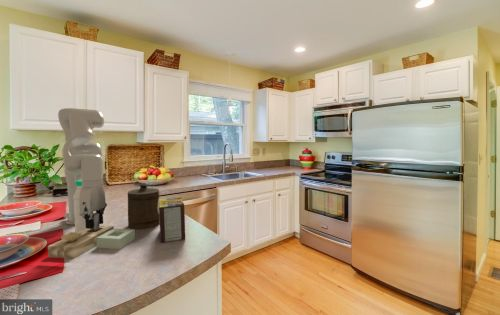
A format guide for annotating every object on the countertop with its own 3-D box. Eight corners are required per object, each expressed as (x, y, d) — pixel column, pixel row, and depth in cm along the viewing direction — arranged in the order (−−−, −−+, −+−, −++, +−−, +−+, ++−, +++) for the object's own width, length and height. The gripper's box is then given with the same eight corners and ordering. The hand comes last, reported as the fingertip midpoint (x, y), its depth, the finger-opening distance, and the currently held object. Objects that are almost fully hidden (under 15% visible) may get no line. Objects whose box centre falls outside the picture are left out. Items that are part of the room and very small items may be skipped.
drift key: (61, 250, 92) (61, 236, 92) (71, 245, 96) (70, 232, 96) (72, 251, 91) (71, 237, 91) (82, 246, 96) (81, 232, 95)
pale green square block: (97, 250, 97) (96, 237, 97) (113, 239, 107) (113, 228, 107) (120, 251, 96) (120, 238, 96) (135, 240, 106) (134, 229, 106)
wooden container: (166, 224, 127) (165, 182, 125) (139, 233, 114) (137, 187, 113) (148, 219, 135) (147, 179, 133) (122, 227, 122) (120, 184, 121)
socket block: (48, 259, 90) (47, 246, 89) (93, 236, 111) (92, 225, 111) (73, 260, 88) (72, 247, 88) (114, 237, 110) (113, 226, 110)
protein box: (182, 228, 121) (181, 197, 120) (185, 239, 107) (184, 204, 106) (159, 230, 118) (158, 198, 117) (160, 243, 103) (158, 207, 102)
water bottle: (74, 237, 110) (70, 182, 109) (76, 232, 117) (73, 180, 115) (92, 234, 114) (89, 180, 112) (94, 229, 120) (91, 178, 118)
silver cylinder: (88, 240, 104) (87, 214, 104) (94, 237, 108) (93, 212, 107) (96, 240, 104) (94, 215, 103) (102, 237, 107) (100, 212, 107)
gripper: (99, 180, 113) (100, 219, 114) (67, 187, 96) (70, 233, 97) (114, 180, 112) (115, 219, 113) (85, 187, 95) (87, 233, 97)
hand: (94, 225), depth 105 cm, fingers open, 4 cm apart
